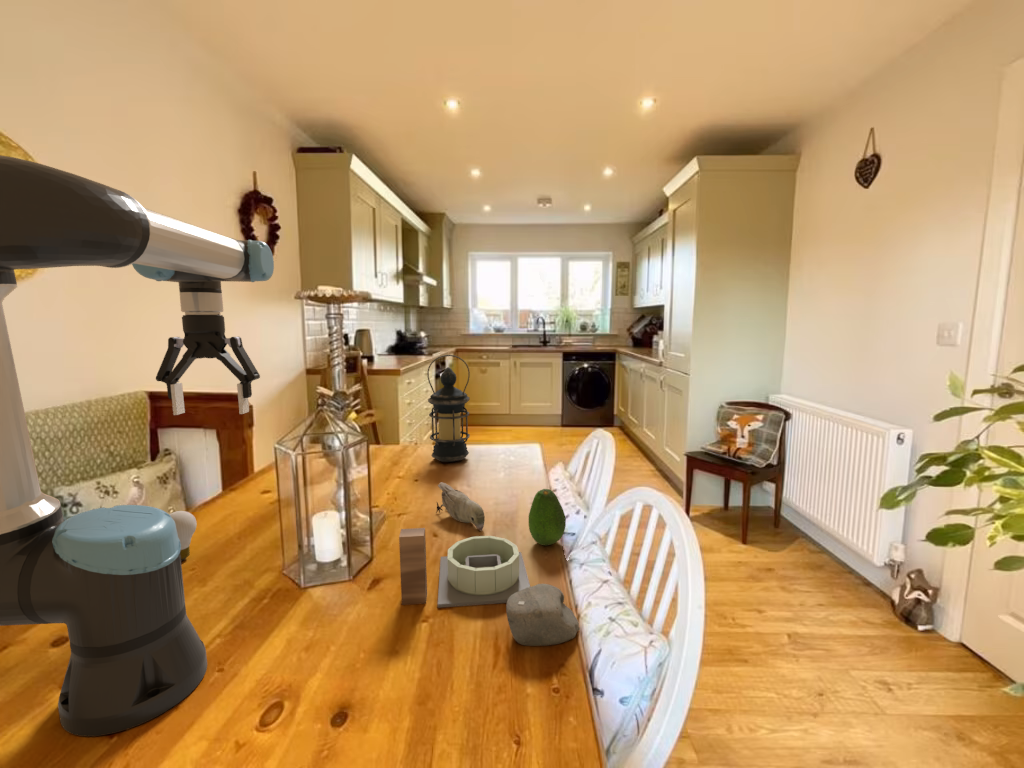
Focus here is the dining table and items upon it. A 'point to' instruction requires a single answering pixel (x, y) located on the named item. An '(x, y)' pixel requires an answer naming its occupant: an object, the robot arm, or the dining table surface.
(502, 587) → the square base green ring
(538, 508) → the fruit
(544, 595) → the stone
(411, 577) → the wooden rectangular beam
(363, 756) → the dining table surface
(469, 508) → the decorative bird
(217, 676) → the dining table surface
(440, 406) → the lantern
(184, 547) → the light bulb
